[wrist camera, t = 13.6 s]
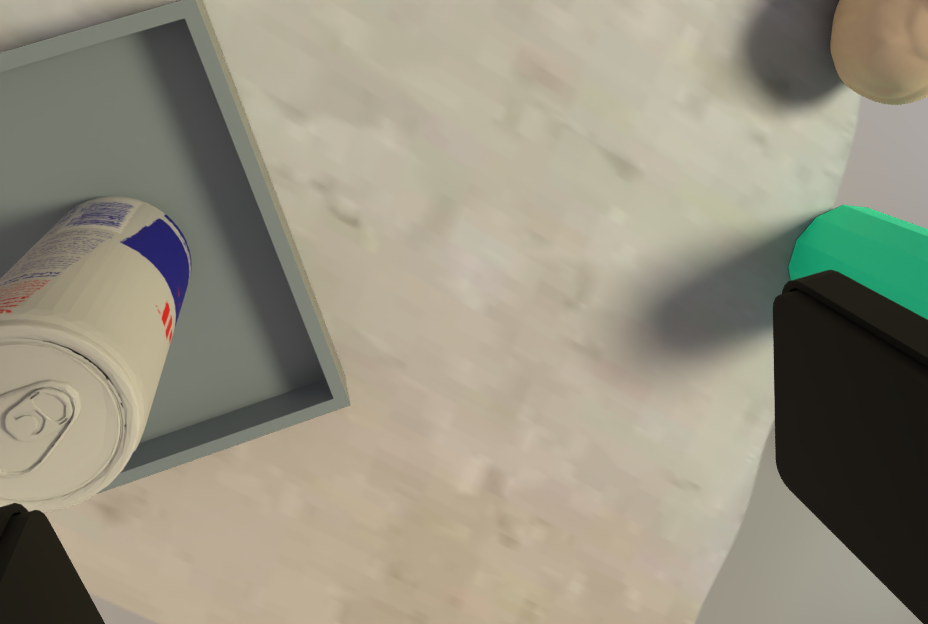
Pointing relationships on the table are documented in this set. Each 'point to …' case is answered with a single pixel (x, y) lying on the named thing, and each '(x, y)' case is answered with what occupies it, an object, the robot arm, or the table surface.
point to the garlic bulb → (882, 48)
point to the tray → (189, 206)
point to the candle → (867, 253)
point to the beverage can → (85, 348)
